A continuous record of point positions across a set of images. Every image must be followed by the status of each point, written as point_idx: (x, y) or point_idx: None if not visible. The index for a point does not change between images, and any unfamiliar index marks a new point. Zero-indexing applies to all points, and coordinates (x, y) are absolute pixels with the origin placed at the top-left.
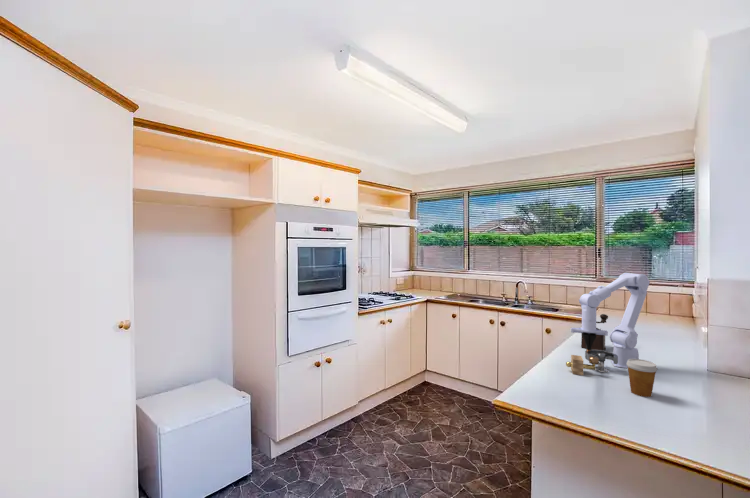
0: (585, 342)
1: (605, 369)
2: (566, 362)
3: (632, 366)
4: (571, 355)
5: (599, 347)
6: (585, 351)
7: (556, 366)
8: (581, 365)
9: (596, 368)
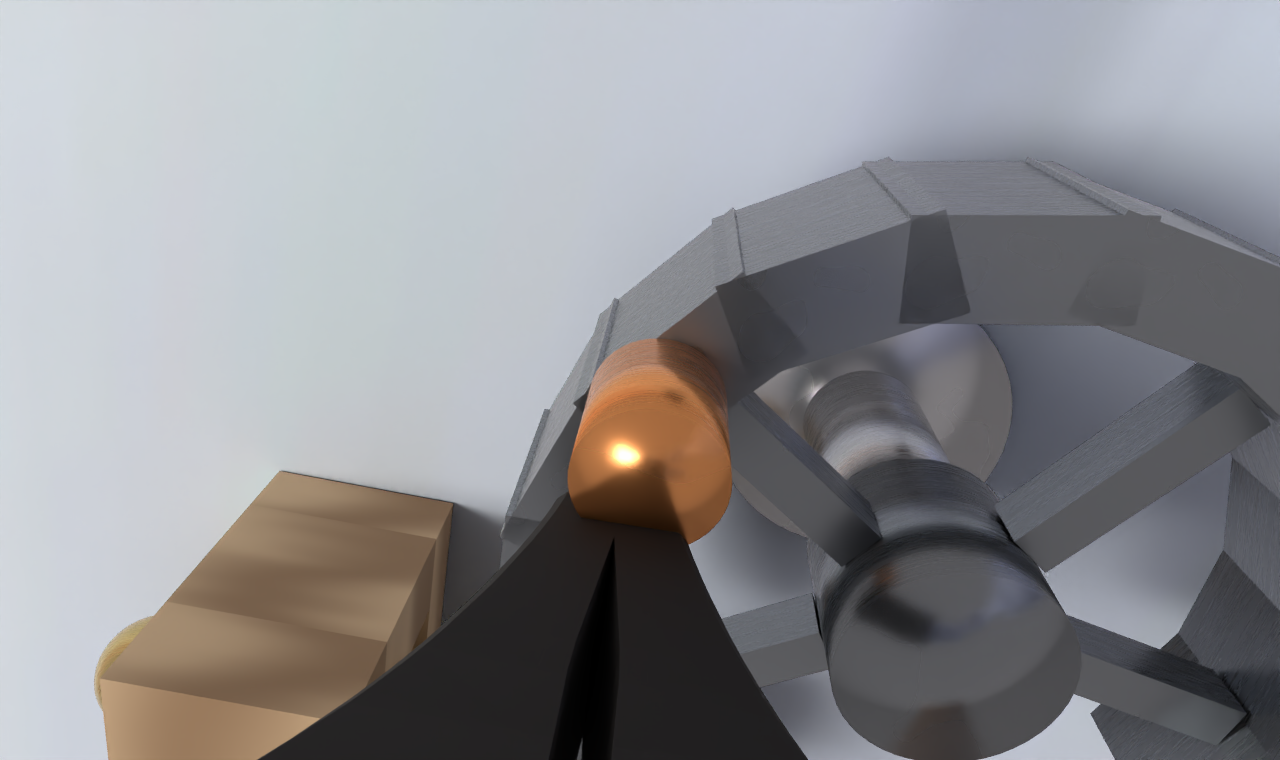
0: (459, 627)
1: (965, 404)
2: (95, 688)
3: None
4: (105, 730)
5: None
6: (505, 545)
7: (21, 395)
8: None
9: (791, 383)
